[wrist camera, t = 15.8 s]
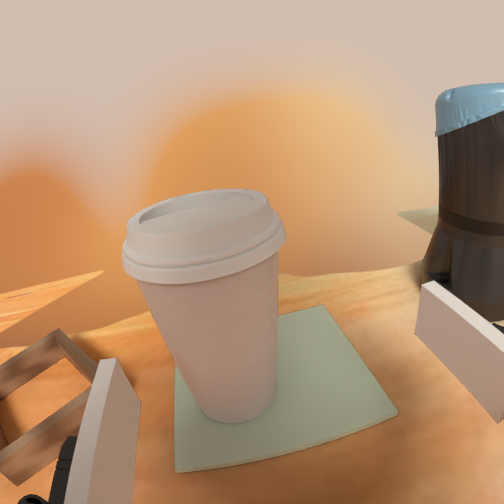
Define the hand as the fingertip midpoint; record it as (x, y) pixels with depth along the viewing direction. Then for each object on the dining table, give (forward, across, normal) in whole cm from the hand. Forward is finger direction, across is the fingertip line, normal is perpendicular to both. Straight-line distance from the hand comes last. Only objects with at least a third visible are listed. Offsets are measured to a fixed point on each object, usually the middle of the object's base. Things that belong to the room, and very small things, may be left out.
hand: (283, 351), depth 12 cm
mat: (+10, 0, -11) cm, 15 cm away
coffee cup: (+8, -3, -11) cm, 14 cm away
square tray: (+10, -23, -11) cm, 27 cm away
